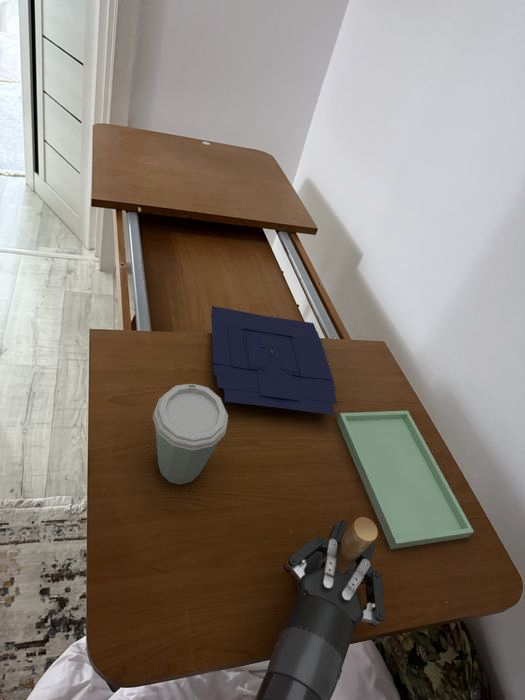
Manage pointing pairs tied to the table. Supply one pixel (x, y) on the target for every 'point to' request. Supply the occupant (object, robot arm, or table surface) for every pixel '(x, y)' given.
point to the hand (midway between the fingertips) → (356, 531)
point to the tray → (402, 479)
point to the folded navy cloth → (271, 362)
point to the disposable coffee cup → (187, 430)
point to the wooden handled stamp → (348, 547)
